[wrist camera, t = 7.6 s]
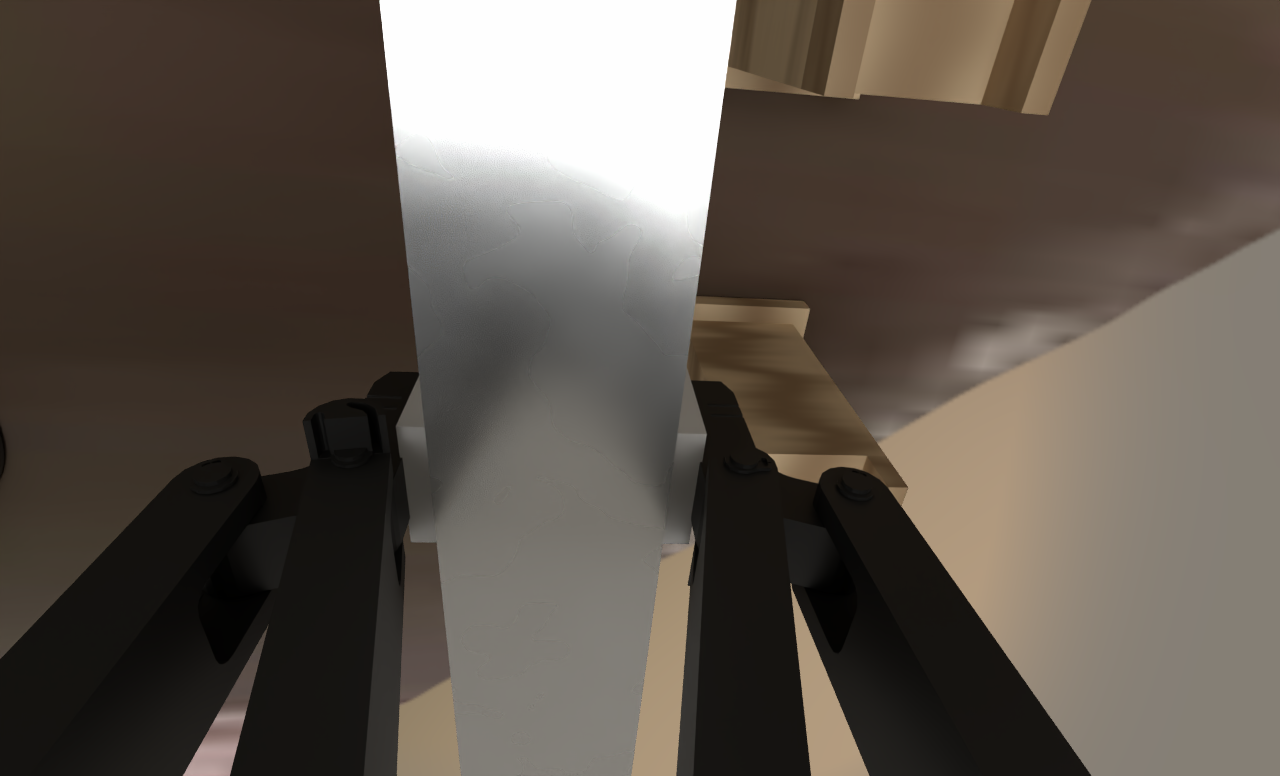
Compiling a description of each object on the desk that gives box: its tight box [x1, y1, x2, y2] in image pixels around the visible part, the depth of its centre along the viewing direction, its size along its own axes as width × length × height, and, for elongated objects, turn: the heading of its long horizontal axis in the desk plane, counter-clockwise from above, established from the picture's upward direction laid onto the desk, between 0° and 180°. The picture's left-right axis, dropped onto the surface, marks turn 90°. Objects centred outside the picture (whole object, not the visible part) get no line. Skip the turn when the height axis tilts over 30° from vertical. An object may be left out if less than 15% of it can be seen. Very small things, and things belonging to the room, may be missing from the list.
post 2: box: [725, 0, 1091, 115], centre depth 23 cm, size 8×7×16 cm
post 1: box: [687, 296, 908, 506], centre depth 31 cm, size 8×7×16 cm
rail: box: [380, 0, 736, 776], centre depth 13 cm, size 4×26×5 cm, turn 175°
